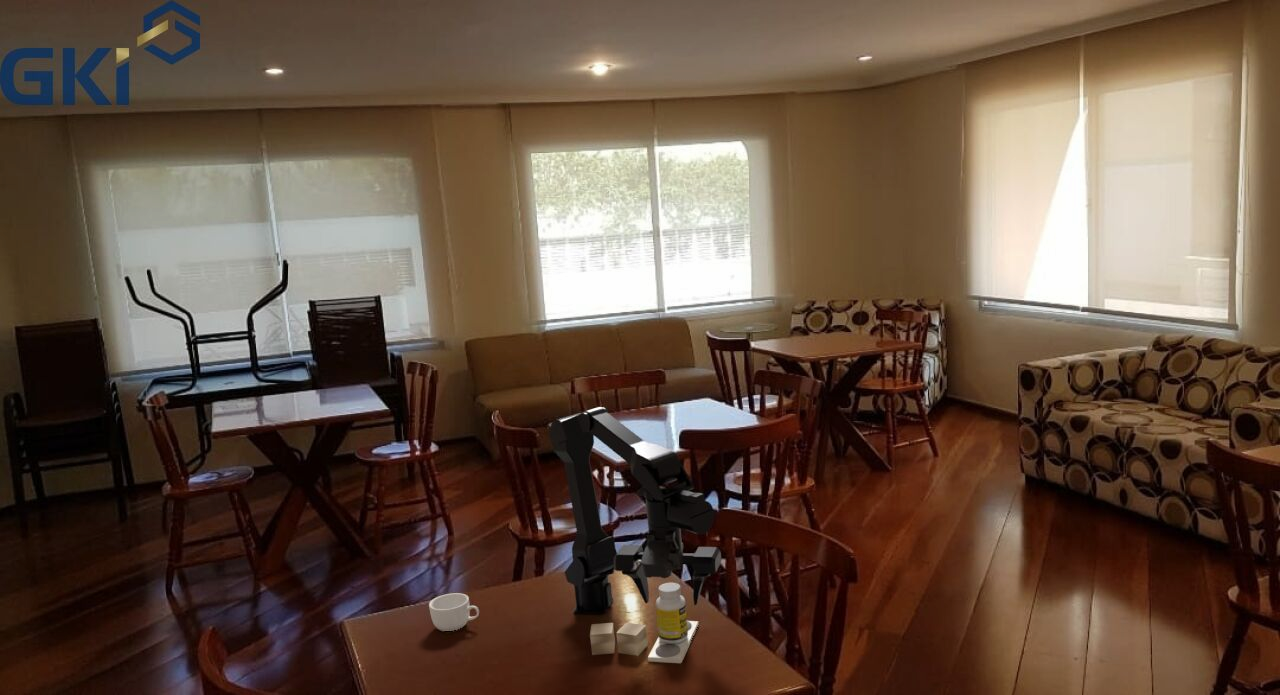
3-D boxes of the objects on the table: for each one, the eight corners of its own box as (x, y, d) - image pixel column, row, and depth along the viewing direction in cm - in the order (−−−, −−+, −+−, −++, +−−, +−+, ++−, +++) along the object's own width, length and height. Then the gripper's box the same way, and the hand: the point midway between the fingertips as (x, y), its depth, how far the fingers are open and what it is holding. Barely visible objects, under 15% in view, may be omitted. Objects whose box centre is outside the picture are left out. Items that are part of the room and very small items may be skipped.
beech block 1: (592, 655, 164) (590, 634, 163) (593, 644, 168) (591, 624, 167) (614, 653, 164) (612, 633, 163) (615, 642, 168) (613, 622, 167)
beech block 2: (618, 653, 164) (616, 632, 163) (628, 642, 167) (626, 622, 167) (638, 656, 162) (636, 635, 161) (647, 645, 165) (645, 625, 165)
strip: (648, 661, 160) (647, 656, 159) (668, 623, 173) (667, 618, 173) (681, 663, 158) (680, 658, 158) (698, 625, 171) (698, 620, 171)
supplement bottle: (685, 644, 162) (681, 593, 160) (656, 644, 163) (651, 593, 162) (690, 630, 167) (686, 580, 166) (661, 629, 168) (657, 580, 167)
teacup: (425, 635, 177) (422, 610, 176) (442, 617, 185) (438, 592, 184) (473, 636, 175) (469, 610, 174) (488, 618, 182) (484, 593, 181)
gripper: (600, 537, 157) (608, 621, 159) (705, 540, 151) (712, 627, 154) (619, 514, 167) (627, 593, 170) (718, 516, 162) (725, 597, 164)
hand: (671, 603), depth 164 cm, fingers open, 9 cm apart
